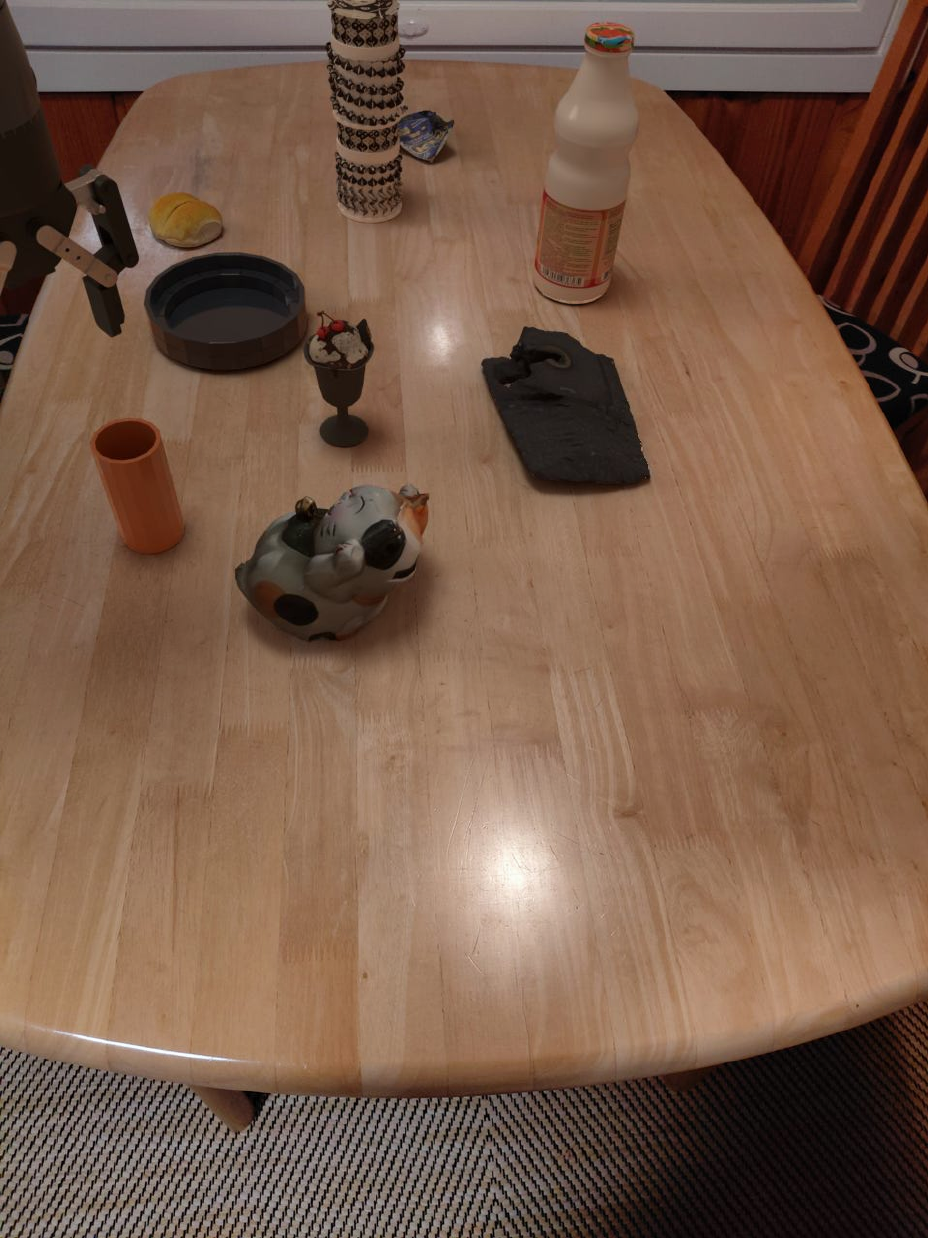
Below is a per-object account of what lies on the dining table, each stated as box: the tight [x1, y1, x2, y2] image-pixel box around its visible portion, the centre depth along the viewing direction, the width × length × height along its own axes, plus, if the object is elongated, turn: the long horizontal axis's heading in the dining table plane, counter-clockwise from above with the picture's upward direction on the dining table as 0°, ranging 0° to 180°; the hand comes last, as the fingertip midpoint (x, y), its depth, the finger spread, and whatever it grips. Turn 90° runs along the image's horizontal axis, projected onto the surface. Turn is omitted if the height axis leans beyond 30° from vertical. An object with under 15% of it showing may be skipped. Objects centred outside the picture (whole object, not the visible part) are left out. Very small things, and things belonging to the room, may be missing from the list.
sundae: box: [302, 309, 375, 448], centre depth 89 cm, size 7×7×15 cm
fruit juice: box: [532, 21, 640, 301], centre depth 103 cm, size 9×9×28 cm
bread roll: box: [148, 191, 224, 248], centre depth 115 cm, size 8×9×4 cm
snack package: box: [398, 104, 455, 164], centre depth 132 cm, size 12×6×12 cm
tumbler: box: [89, 417, 186, 555], centre depth 81 cm, size 6×6×11 cm
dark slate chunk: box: [480, 325, 652, 485], centre depth 96 cm, size 15×22×5 cm
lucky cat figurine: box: [234, 482, 430, 643], centre depth 78 cm, size 15×12×14 cm
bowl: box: [143, 251, 308, 371], centre depth 104 cm, size 17×17×4 cm
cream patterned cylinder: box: [324, 0, 407, 224], centre depth 113 cm, size 9×9×25 cm
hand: (53, 356), depth 62 cm, fingers open, 8 cm apart
